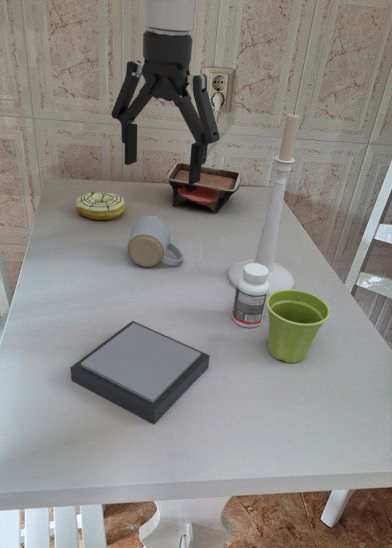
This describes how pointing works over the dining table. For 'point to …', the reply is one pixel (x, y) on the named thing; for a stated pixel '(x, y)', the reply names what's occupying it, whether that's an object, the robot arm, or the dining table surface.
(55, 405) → the dining table surface
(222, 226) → the dining table surface
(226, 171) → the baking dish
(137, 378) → the scale
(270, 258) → the candlestick
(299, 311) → the plant pot
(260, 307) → the pill bottle
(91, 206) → the decorated donut
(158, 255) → the ceramic mug
